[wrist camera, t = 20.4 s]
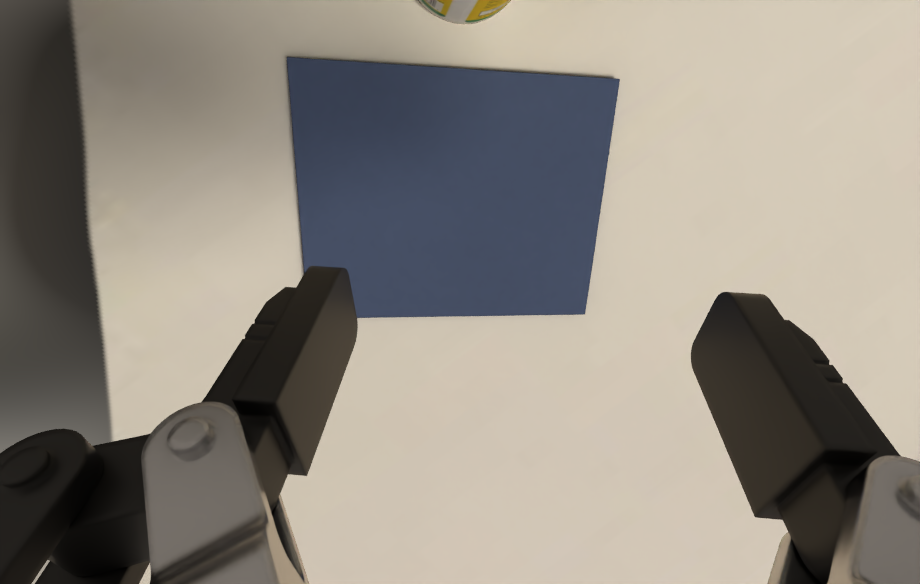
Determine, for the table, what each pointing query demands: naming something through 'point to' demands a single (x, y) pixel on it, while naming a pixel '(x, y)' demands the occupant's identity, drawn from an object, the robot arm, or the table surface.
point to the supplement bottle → (464, 9)
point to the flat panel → (451, 184)
